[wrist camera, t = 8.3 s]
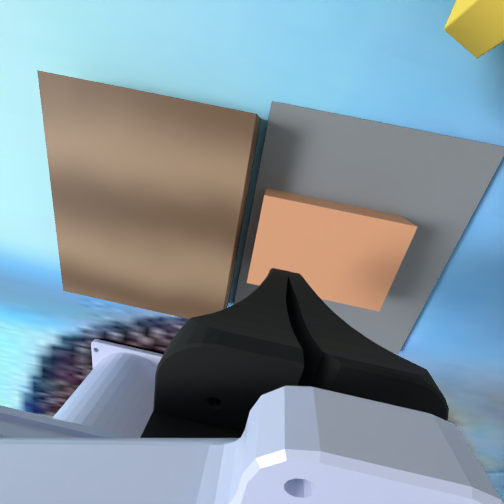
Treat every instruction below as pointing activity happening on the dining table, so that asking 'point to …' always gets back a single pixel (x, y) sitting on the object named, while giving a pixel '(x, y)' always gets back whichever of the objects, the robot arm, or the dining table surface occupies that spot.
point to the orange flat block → (331, 247)
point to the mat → (377, 197)
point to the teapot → (477, 24)
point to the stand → (146, 193)
